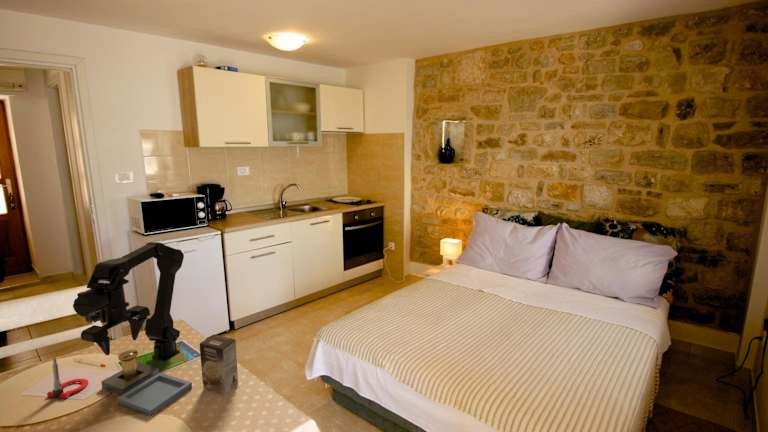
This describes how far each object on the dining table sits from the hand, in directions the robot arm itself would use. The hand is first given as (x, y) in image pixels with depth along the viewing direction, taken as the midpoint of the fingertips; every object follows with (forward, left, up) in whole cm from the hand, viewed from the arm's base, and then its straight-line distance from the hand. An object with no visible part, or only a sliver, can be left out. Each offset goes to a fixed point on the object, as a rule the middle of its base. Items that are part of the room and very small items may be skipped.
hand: (121, 347), depth 122 cm
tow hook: (+9, -13, -13) cm, 21 cm away
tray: (+1, +15, -13) cm, 19 cm away
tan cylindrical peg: (-1, +1, -13) cm, 13 cm away
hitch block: (-1, +1, -13) cm, 13 cm away
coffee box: (-10, +30, -13) cm, 34 cm away
